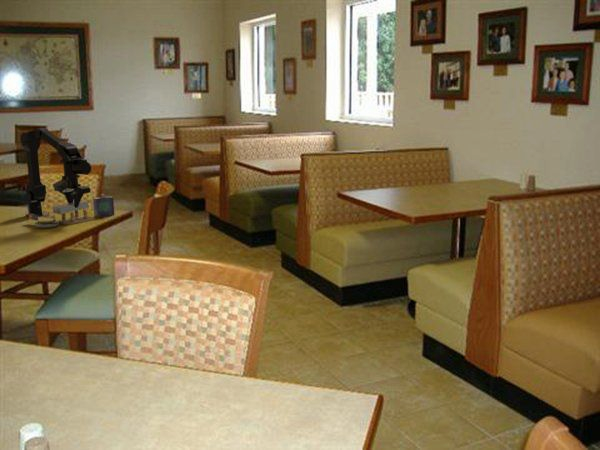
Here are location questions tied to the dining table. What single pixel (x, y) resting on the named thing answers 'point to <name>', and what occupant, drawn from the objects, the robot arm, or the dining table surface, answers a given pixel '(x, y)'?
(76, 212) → the rack
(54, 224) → the nut base
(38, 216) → the grey red-tipped part
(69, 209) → the spanner
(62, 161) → the robot arm
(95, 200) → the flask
